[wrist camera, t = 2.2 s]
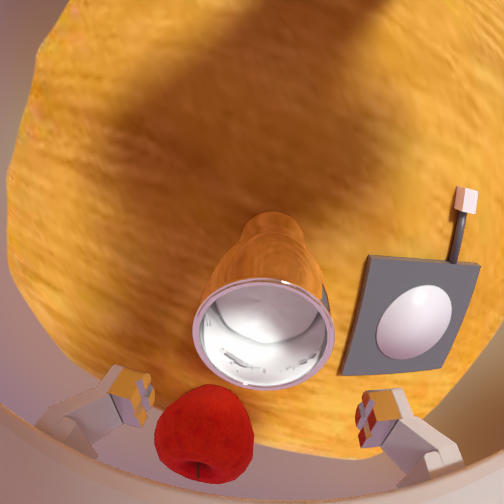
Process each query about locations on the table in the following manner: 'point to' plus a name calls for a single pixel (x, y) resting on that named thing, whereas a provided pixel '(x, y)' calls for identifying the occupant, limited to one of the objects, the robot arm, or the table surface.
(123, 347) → the table surface
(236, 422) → the apple
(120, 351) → the table surface
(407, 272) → the charging dock
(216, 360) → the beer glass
